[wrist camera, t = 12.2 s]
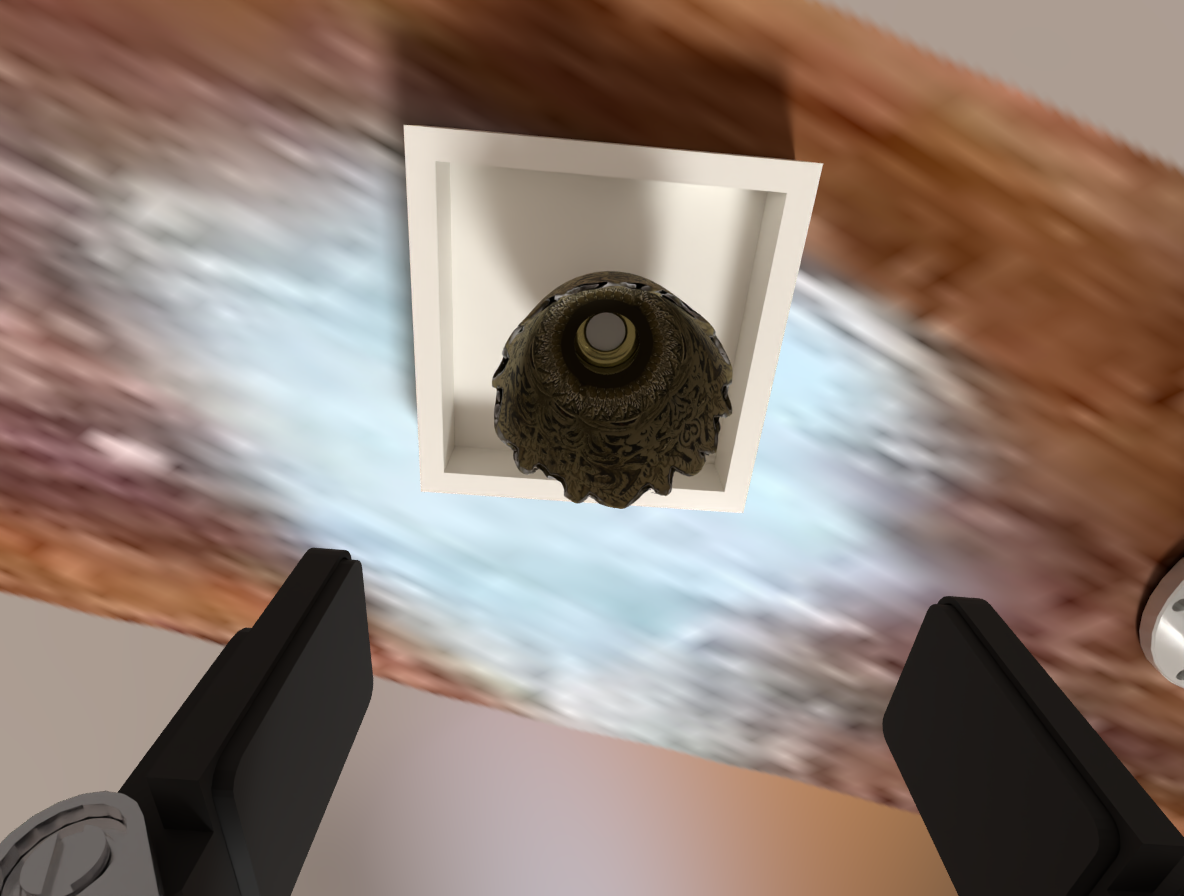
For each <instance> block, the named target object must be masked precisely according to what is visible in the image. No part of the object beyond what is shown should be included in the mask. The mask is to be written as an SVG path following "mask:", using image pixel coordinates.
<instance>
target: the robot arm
mask: <svg viewBox="0 0 1184 896" xmlns="http://www.w3.org/2000/svg"><path fill="white" fill-rule="evenodd" d="M1139 634H1140V644H1141V647H1142V650H1143V652H1144V654H1145V656H1146V658H1147V659H1148V661H1149V662H1150V663H1151V664H1152V665H1153V666H1154V667H1155V668H1156V669H1157V670H1158V671H1159V672H1160V673H1161V674H1162V675H1163V676H1164V677H1165V678H1167V679H1168V680H1169V681H1170V682H1171V683H1173V684H1175V685H1177V686H1179V687H1182V688H1184V557H1183V558H1182V559H1181V560H1179V561H1178V562H1177V563H1176V564H1175V565H1174V566H1173V568H1172V569H1171V570H1170V571H1169V572H1168V573H1167V574H1166V575H1165V576H1164V577H1163V578H1162V580H1161V581H1160V583H1159V584H1158V585H1157V587H1156V588H1155V590H1154V591H1153V593H1152V594H1151V596H1150V598H1149V600H1148V602H1147V605H1146V607H1145V609H1144V611H1143V614H1142V619H1141V624H1140V629H1139ZM372 690H373V672H372V662H371V652H370V642H369V633H368V623H367V613H366V603H365V593H364V583H363V573H362V565H361V562H360V561H358V560H351V555H350V553H349V551H347V550H336V549H323V548H311V549H309V550H308V551H307V552H306V553H305V554H304V556H303V557H302V559H301V560H300V561H299V563H298V564H297V566H296V567H295V568H294V570H293V571H292V573H291V574H290V575H289V577H288V578H287V580H286V581H285V582H284V584H283V585H282V587H281V588H280V589H279V591H278V592H277V594H276V595H275V596H274V598H273V599H272V601H271V602H270V603H269V605H268V606H267V608H266V609H265V610H264V612H263V613H262V615H261V616H260V617H259V619H258V620H257V622H256V623H255V624H254V626H253V627H252V628H244V629H242V630H240V631H238V632H237V633H236V634H235V635H234V636H233V637H232V639H231V640H230V641H229V642H228V644H227V645H226V647H225V648H224V649H223V651H222V652H221V653H220V655H219V656H218V657H217V659H216V660H215V662H214V663H213V664H212V665H211V667H210V668H209V670H208V671H207V672H206V674H205V675H204V676H203V678H202V679H201V680H200V682H199V683H198V684H197V686H196V687H195V689H194V690H193V691H192V693H191V694H190V695H189V697H188V698H187V699H186V701H185V702H184V703H183V705H182V706H181V707H180V709H179V710H178V712H177V713H176V714H175V715H174V717H173V718H172V720H171V721H170V722H169V724H168V725H167V727H166V728H165V729H164V730H163V732H162V733H161V734H160V736H159V737H158V739H157V740H156V741H155V743H154V744H153V745H152V747H151V748H150V749H149V751H148V752H147V753H146V755H145V756H144V757H143V759H142V760H141V761H140V763H139V764H138V766H137V767H136V769H135V770H134V771H133V772H132V774H131V775H130V776H129V778H128V779H127V780H126V782H125V783H124V784H123V786H122V787H121V789H120V790H119V791H118V793H116V792H109V791H101V792H93V793H86V794H81V795H78V796H75V797H72V798H70V799H66V800H63V801H60V802H58V803H56V804H54V805H52V806H50V807H49V808H47V809H45V810H43V811H41V812H39V813H37V814H36V815H34V816H32V817H31V818H30V819H28V820H27V821H26V822H24V823H23V824H22V825H20V826H19V827H18V828H16V829H15V830H14V831H12V832H11V833H10V834H9V835H8V836H7V837H6V838H5V839H4V840H3V841H2V842H1V843H0V896H291V893H292V891H293V888H294V886H295V883H296V881H297V878H298V876H299V874H300V871H301V868H302V866H303V864H304V861H305V859H306V857H307V854H308V852H309V849H310V847H311V844H312V842H313V840H314V837H315V834H316V832H317V830H318V827H319V825H320V822H321V820H322V818H323V815H324V813H325V810H326V808H327V805H328V803H329V801H330V798H331V796H332V793H333V791H334V788H335V786H336V784H337V781H338V779H339V776H340V774H341V771H342V769H343V766H344V764H345V761H346V759H347V757H348V754H349V752H350V749H351V747H352V744H353V742H354V740H355V737H356V735H357V732H358V730H359V727H360V725H361V723H362V720H363V717H364V715H365V713H366V710H367V708H368V705H369V703H370V700H371V696H372ZM883 733H884V737H885V740H886V743H887V745H888V747H889V749H890V751H891V753H892V755H893V757H894V760H895V762H896V764H897V766H898V768H899V770H900V772H901V774H902V777H903V779H904V781H905V783H906V785H907V787H908V789H909V791H910V794H911V796H912V798H913V800H914V802H915V804H916V806H917V808H918V810H919V813H920V815H921V817H922V819H923V821H924V823H925V825H926V827H927V830H928V832H929V834H930V836H931V838H932V840H933V842H934V844H935V847H936V848H937V851H938V853H939V855H940V857H941V859H942V861H943V864H944V866H945V868H946V870H947V872H948V874H949V876H950V878H951V881H952V883H953V885H954V887H955V889H956V891H957V893H958V895H959V896H1184V837H1183V836H1182V835H1181V833H1180V832H1179V831H1178V830H1177V829H1176V827H1175V826H1174V825H1173V824H1172V823H1171V821H1170V820H1169V819H1168V818H1167V817H1166V815H1165V814H1164V813H1163V812H1162V811H1161V809H1160V808H1159V807H1158V806H1157V805H1156V803H1155V802H1154V801H1153V800H1152V799H1151V797H1150V796H1149V795H1148V794H1147V793H1146V791H1145V790H1144V789H1143V788H1142V787H1141V785H1140V784H1139V783H1138V782H1137V780H1136V779H1135V778H1134V777H1133V776H1132V774H1131V773H1130V772H1129V771H1128V770H1127V768H1126V767H1125V766H1124V765H1123V764H1122V762H1121V761H1120V760H1119V759H1118V758H1117V756H1116V755H1115V754H1114V753H1113V752H1112V750H1111V749H1110V748H1109V747H1108V746H1107V744H1106V743H1105V742H1104V741H1103V740H1102V738H1101V737H1100V736H1099V735H1098V734H1097V732H1096V731H1095V730H1094V729H1093V728H1092V726H1091V725H1090V724H1089V723H1088V722H1087V720H1086V719H1085V718H1084V717H1083V716H1082V714H1081V713H1080V712H1079V711H1078V710H1077V708H1076V707H1075V706H1074V705H1073V704H1072V702H1071V701H1070V700H1069V699H1068V698H1067V696H1066V695H1065V694H1064V693H1063V692H1062V690H1061V689H1060V688H1059V687H1058V686H1057V684H1056V683H1055V682H1054V681H1053V680H1052V678H1051V677H1050V676H1049V675H1048V674H1047V672H1046V671H1045V670H1044V669H1043V667H1042V666H1041V665H1040V664H1039V663H1038V661H1037V660H1036V659H1035V658H1034V657H1033V655H1032V654H1031V653H1030V652H1029V651H1028V649H1027V648H1026V647H1025V646H1024V645H1023V643H1022V642H1021V641H1020V640H1019V639H1018V637H1017V636H1016V635H1015V634H1014V633H1013V631H1012V630H1011V629H1010V628H1009V627H1008V625H1007V624H1006V623H1005V622H1004V621H1003V619H1002V618H1001V617H1000V616H999V615H998V613H997V612H996V611H995V610H994V609H993V607H992V606H991V605H990V604H989V603H988V602H987V601H985V600H983V599H979V598H966V597H953V596H946V597H943V598H942V599H940V600H939V602H938V604H934V605H932V606H930V607H929V609H928V611H927V613H926V616H925V618H924V620H923V623H922V625H921V628H920V630H919V632H918V635H917V637H916V640H915V642H914V644H913V647H912V649H911V652H910V654H909V656H908V659H907V661H906V664H905V666H904V668H903V671H902V673H901V676H900V678H899V680H898V683H897V685H896V688H895V690H894V693H893V695H892V697H891V700H890V702H889V705H888V707H887V709H886V712H885V714H884V717H883Z"/></svg>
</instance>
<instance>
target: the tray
mask: <svg viewBox="0 0 1184 896" xmlns="http://www.w3.org/2000/svg"><path fill="white" fill-rule="evenodd" d="M404 143H405V164H406V185H407V206H408V227H409V249H410V270H411V291H412V312H413V333H414V354H415V375H416V396H417V418H418V439H419V460H420V481H421V492H436V493H451V494H466V495H481V496H496V497H511V498H526V499H541V500H556V501H571V500H569V499H567V498H566V497H564V488H563V486H562V483H561V482H559V481H557V480H556V479H548V478H547V477H546V476H545V474H544V473H543V472H542V471H541V470H540V469H538V470H535V471H536V472H534V473H533V474H528V475H525V474H523V473H521V472H520V471H519V470H518V468H517V466H516V464H515V461H514V459H513V450H512V449H511V448H510V447H508V446H507V445H506V444H504V443H503V442H502V441H501V440H500V438H499V437H498V436H497V434H496V432H495V428H494V407H495V401H496V393H497V390H496V388H493V387H492V379H493V375H494V373H495V372H496V370H497V369H498V367H499V365H500V363H501V361H502V359H503V355H502V351H503V348H504V346H505V344H506V342H507V340H508V338H509V337H510V335H511V334H512V332H513V331H514V329H516V328H517V327H518V325H519V324H520V323H521V322H522V321H523V320H524V319H525V318H526V317H527V316H528V314H529V313H530V312H531V311H532V310H533V309H534V307H535V306H536V305H537V304H538V303H539V302H540V301H541V300H542V299H543V298H544V297H545V296H547V295H548V294H549V293H550V292H552V291H553V290H554V289H556V288H557V287H559V286H560V285H562V284H564V283H565V282H567V281H569V280H572V279H574V278H576V277H579V276H582V275H585V274H589V273H594V272H602V271H618V272H626V273H631V274H635V275H639V276H642V277H644V278H647V279H649V280H651V281H653V282H655V283H657V284H659V285H661V286H662V287H664V288H665V289H667V290H668V291H670V292H671V293H673V294H674V295H675V296H677V297H678V298H679V299H681V300H682V301H683V302H685V303H686V304H687V305H688V306H689V307H691V308H692V309H693V310H694V311H696V312H697V313H698V314H700V315H701V316H703V317H704V318H705V319H706V320H707V321H708V322H709V323H710V324H711V325H712V327H713V328H714V330H715V331H716V333H715V335H716V336H717V338H718V339H719V341H720V342H721V344H722V346H723V348H724V350H725V352H726V354H727V356H728V358H729V360H730V362H731V365H732V372H733V376H732V384H731V385H729V388H728V396H729V399H730V402H731V406H732V414H731V415H730V416H728V417H727V418H724V417H722V418H721V417H720V418H719V422H720V425H721V429H720V432H719V434H718V446H717V451H716V453H714V454H709V456H708V455H705V458H706V462H705V464H704V466H703V467H702V470H701V471H700V472H699V473H698V474H696V475H694V476H691V477H688V476H685V475H682V474H680V473H679V472H676V471H675V472H674V476H673V479H672V480H673V482H672V491H671V493H670V494H669V495H667V496H660V495H658V494H654V493H655V491H654V490H653V489H651V488H650V489H651V490H648V491H647V492H646V493H644V494H643V495H642V496H641V497H640V498H639V499H638V500H637V501H635V502H634V503H633V504H631V505H630V506H645V507H660V508H675V509H690V510H705V511H720V512H735V513H743V511H744V507H745V502H746V498H747V494H748V489H749V485H750V480H751V476H752V472H753V467H754V463H755V459H756V454H757V450H758V445H759V441H760V437H761V432H762V428H763V424H764V419H765V415H766V410H767V406H768V402H769V397H770V393H771V389H772V384H773V380H774V376H775V371H776V367H777V362H778V358H779V354H780V349H781V345H782V341H783V336H784V332H785V327H786V323H787V319H788V314H789V310H790V306H791V301H792V297H793V292H794V288H795V284H796V279H797V275H798V271H799V266H800V262H801V257H802V253H803V249H804V244H805V240H806V236H807V231H808V227H809V223H810V218H811V214H812V209H813V205H814V201H815V196H816V192H817V188H818V183H819V179H820V174H821V170H822V166H823V164H821V163H814V162H807V161H800V160H791V159H781V158H770V157H759V156H748V155H738V154H727V153H716V152H705V151H694V150H684V149H673V148H662V147H651V146H641V145H630V144H619V143H608V142H598V141H587V140H576V139H565V138H555V137H544V136H533V135H522V134H512V133H501V132H490V131H479V130H468V129H458V128H447V127H436V126H425V125H404ZM586 335H587V339H588V341H589V342H590V344H591V345H592V346H593V347H595V348H596V349H599V350H602V351H609V350H613V349H615V348H617V347H618V346H619V345H620V344H621V343H622V341H623V339H624V337H625V326H624V324H623V322H622V320H621V319H620V318H619V317H618V316H616V315H614V314H612V313H600V314H598V315H596V316H594V317H593V318H592V319H591V320H590V322H589V323H588V325H587V329H586ZM534 468H537V467H534ZM651 492H654V493H651ZM571 502H572V501H571ZM584 502H586V503H598V502H596V501H595V500H594V499H592V498H591V497H588V499H586V500H585V501H584Z"/></svg>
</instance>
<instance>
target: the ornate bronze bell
mask: <svg viewBox="0 0 1184 896" xmlns="http://www.w3.org/2000/svg"><path fill="white" fill-rule="evenodd" d="M600 313H612V314H614V315H616V316H618V317H619V318H620V319H621V320H622V322H623V324H624V326H625V337H624V339H623V341H622V343H621V344H620V345H619V346H618V347H617V348H615V349H613V350H609V351H602V350H599V349H596V348H595V347H593V346H592V345H591V344H590V342H589V341H588V339H587V335H586V329H587V325H588V323H589V322H590V320H591V319H592V318H593V317H594V316H596V315H598V314H600ZM715 333H716V331H715V330H714V328H713V327H712V325H711V324H710V323H709V322H708V321H707V320H706V319H705V318H704V317H703V316H701V315H700V314H698V313H697V312H696V311H694V310H693V309H692V308H691V307H689V306H688V305H687V304H686V303H685V302H683V301H682V300H681V299H679V298H678V297H677V296H675V295H674V294H673V293H671V292H670V291H668V290H667V289H665V288H664V287H662V286H661V285H659V284H657V283H655V282H653V281H651V280H649V279H647V278H644V277H642V276H639V275H635V274H631V273H626V272H618V271H602V272H594V273H589V274H585V275H582V276H579V277H576V278H574V279H572V280H569V281H567V282H565V283H564V284H562V285H560V286H559V287H557V288H556V289H554V290H553V291H552V292H550V293H549V294H548V295H547V296H545V297H544V298H543V299H542V300H541V301H540V302H539V303H538V304H537V305H536V306H535V307H534V309H533V310H532V311H531V312H530V313H529V314H528V316H527V317H526V318H525V319H524V320H523V321H522V322H521V323H520V324H519V325H518V327H517V328H516V329H514V331H513V332H512V334H511V335H510V337H509V338H508V340H507V342H506V344H505V346H504V348H503V351H502V355H503V359H502V361H501V363H500V365H499V367H498V369H497V370H496V372H495V373H494V375H493V379H492V387H493V388H496V390H497V393H496V401H495V407H494V428H495V432H496V434H497V436H498V437H499V438H500V440H501V441H502V442H503V443H504V444H506V445H507V446H508V447H510V448H511V449H512V450H513V459H514V461H515V464H516V466H517V468H518V470H519V471H520V472H521V473H523V474H525V475H528V474H533V473H534V472H536V471H535V470H538V469H540V470H541V471H542V472H543V473H544V474H545V476H546V477H547V478H548V479H556V480H557V481H559V482H561V483H562V486H563V488H564V497H566V498H567V499H569V500H571V501H572V502H574V503H582V502H584V501H585V500H586V499H588V497H591V498H592V499H594V500H595V501H596V502H598V503H599V504H601V505H604V506H608V507H612V508H619V509H623V508H626V507H628V506H630V505H631V504H633V503H634V502H635V501H637V500H638V499H639V498H640V497H641V496H642V495H643V494H644V493H646V492H647V491H648V490H651V489H653V490H654V491H655V493H654V492H651V493H654V494H658V495H660V496H667V495H669V494H670V493H671V491H672V482H673V480H672V479H673V476H674V472H675V471H676V472H679V473H680V474H682V475H685V476H688V477H691V476H694V475H696V474H698V473H699V472H700V471H701V470H702V467H703V466H704V464H705V462H706V458H705V455H708V456H709V454H714V453H716V451H717V446H718V434H719V432H720V429H721V425H720V422H719V418H720V417H721V418H722V417H724V418H727V417H728V416H730V415H731V414H732V406H731V402H730V399H729V396H728V388H729V385H731V384H732V376H733V372H732V365H731V362H730V360H729V358H728V356H727V354H726V352H725V350H724V348H723V346H722V344H721V342H720V341H719V339H718V338H717V336H716V335H715ZM534 467H537V468H534ZM650 488H651V489H650Z"/></svg>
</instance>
